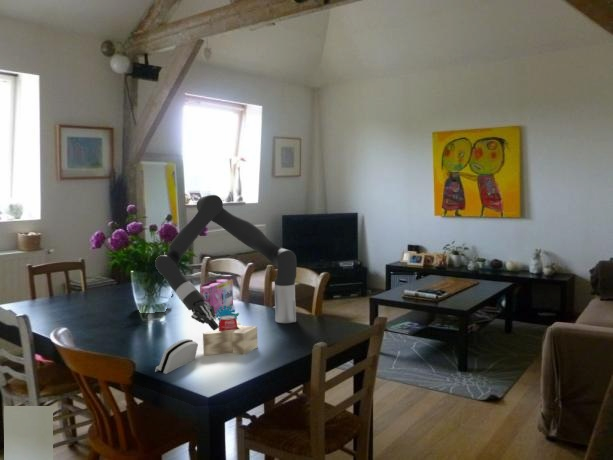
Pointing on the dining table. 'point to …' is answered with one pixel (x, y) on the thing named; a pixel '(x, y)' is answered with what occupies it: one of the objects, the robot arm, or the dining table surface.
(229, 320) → the soda can
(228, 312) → the gear
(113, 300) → the dining table surface
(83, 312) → the dining table surface
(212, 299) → the gum box
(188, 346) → the white zipper pouch
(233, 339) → the v block
